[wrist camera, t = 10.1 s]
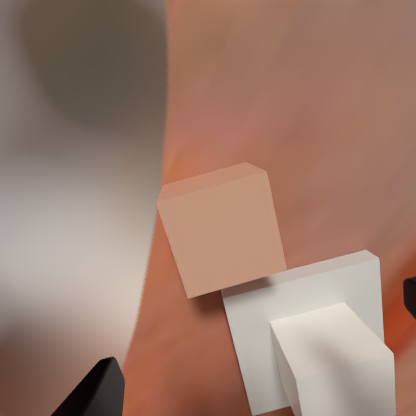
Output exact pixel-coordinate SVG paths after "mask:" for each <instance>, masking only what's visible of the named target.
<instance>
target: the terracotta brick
mask: <svg viewBox="0 0 416 416" xmlns="http://www.w3.org/2000/svg"><path fill="white" fill-rule="evenodd" d="M156 205H157V208H158V211H159V214H160V217H161V220H162V223H163V226H164V229H165V232H166V234H167V237H168V240H169V243H170V246H171V249H172V252H173V255H174V258H175V261H176V264H177V267H178V270H179V273H180V276H181V279H182V282H183V285H184V288H185V291H186V294H187V297H188V299H189V298H192V297H196V296H199V295H203V294H206V293H210V292H213V291H217V290H220V289H224V288H227V287H231V286H234V285H238V284H241V283H245V282H248V281H252V280H255V279H259V278H262V277H266V276H269V275H273V274H276V273H280V272H283V271H287V268H286V263H285V258H284V253H283V248H282V243H281V239H280V234H279V229H278V224H277V219H276V214H275V209H274V204H273V199H272V195H271V190H270V185H269V180H268V175H267V171H265V170H262V169H260V168H258V167H256V166H253V165H251V164H249V163H247V162H245V163H241V164H237V165H234V166H230V167H227V168H223V169H220V170H216V171H213V172H209V173H205V174H202V175H198V176H195V177H191V178H188V179H184V180H181V181H177V182H174V183H170V184H166V185H163V187H162V189H161V192H160V194H159V196H158V199H157V201H156Z"/></svg>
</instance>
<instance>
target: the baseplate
mask: <svg viewBox="0 0 416 416" xmlns="http://www.w3.org/2000/svg"><path fill="white" fill-rule="evenodd" d="M220 290H221V294H222V298H223V302H224V306H225V310H226V314H227V318H228V322H229V326H230V330H231V334H232V338H233V342H234V346H235V349H236V353H237V357H238V361H239V365H240V369H241V373H242V377H243V381H244V385H245V389H246V393H247V397H248V401H249V405H250V409H251V412H252V416H255V415H258V414H262V413H266V412H269V411H273V410H277V409H281V408H284V407H288V406H291V405H290V403H289V400H288V398H287V395H286V393H285V390H284V387H283V385H282V382H281V379H280V374H279V368H278V363H277V358H276V353H275V347H274V342H273V337H272V332H271V327H270V322H271V321H275V320H279V319H282V318H286V317H290V316H294V315H298V314H302V313H306V312H310V311H314V310H318V309H322V308H326V307H330V306H334V305H338V304H342V303H345V304H346V305H347V306H348V307H349V308H350V309H351V310H352V311H353V312H354V313H355V314H356V315H357V316H358V317H359V318H360V319H361V320H362V321H363V322H364V323H365V324H366V325H367V327H368V328H369V329H370V330H371V331H372V332H373V333H374V334H375V335H376V336H377V337H378V338H379V339H380V340H381V341H382V342H383V343H384V333H383V316H382V298H381V281H380V264H379V258H378V257H376V256H375V255H373V254H372V253H370V252H369V251H367V250H363V251H359V252H356V253H352V254H348V255H344V256H340V257H336V258H332V259H328V260H324V261H321V262H317V263H313V264H309V265H305V266H301V267H297V268H293V269H289V270H287V271H283V272H280V273H276V274H273V275H269V276H266V277H262V278H259V279H255V280H252V281H248V282H245V283H241V284H238V285H234V286H231V287H227V288H224V289H220Z"/></svg>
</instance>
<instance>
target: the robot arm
mask: <svg viewBox="0 0 416 416" xmlns="http://www.w3.org/2000/svg"><path fill="white" fill-rule="evenodd" d="M403 301H404V305H405V307H406V309H407V310H408V311H409V313H410V314H411V315H412V316H413V317H414V318H415V319H416V276H415V277H411V278H407V279H405V280H404V281H403ZM124 387H125V382H124V377H123V374H122V372H121V369H120V367H119V365H118V362H117V360H116V358H114V357H109V358H105V359H102V360H100V361H99V362H98V363H97V364H96V365H95V366H94V367H93V368H92V370H91V371H90V372H89V373H88V374H87V375H86V376H85V377H84V379H83V380H82V381H81V382H80V383H79V384H78V385H77V386H76V388H75V389H74V390H73V391H72V392H71V393H70V394H69V395H68V397H67V398H66V399H65V400H64V401H63V402H62V403H61V405H60V406H59V407H58V408H57V409H56V410H55V412H53V414H52V415H51V416H122V411H123V399H124Z"/></svg>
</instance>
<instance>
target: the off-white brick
mask: <svg viewBox="0 0 416 416" xmlns="http://www.w3.org/2000/svg"><path fill="white" fill-rule="evenodd" d="M270 327H271V332H272V337H273V342H274V347H275V353H276V358H277V363H278V368H279V374H280V379H281V382H282V385H283V387H284V390H285V393H286V395H287V398H288V400H289V403H290V405H291V408H292V410H293V413H294V415H295V416H396V405H395V377H394V354H393V353H392V352H391V351H390V349H389V348H388V347H387V346H386V345H385V344H384V343H383V342H382V341H381V340H380V339H379V338H378V337H377V336H376V335H375V334H374V333H373V332H372V331H371V330H370V329H369V328H368V327H367V325H366V324H365V323H364V322H363V321H362V320H361V319H360V318H359V317H358V316H357V315H356V314H355V313H354V312H353V311H352V310H351V309H350V308H349V307H348V306H347V305H346V304H345V303H342V304H338V305H334V306H330V307H326V308H322V309H318V310H314V311H310V312H306V313H302V314H298V315H294V316H290V317H286V318H282V319H279V320H275V321H271V322H270Z"/></svg>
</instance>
